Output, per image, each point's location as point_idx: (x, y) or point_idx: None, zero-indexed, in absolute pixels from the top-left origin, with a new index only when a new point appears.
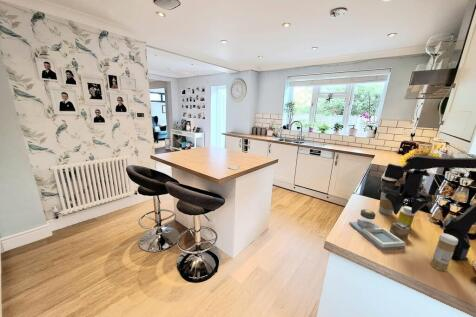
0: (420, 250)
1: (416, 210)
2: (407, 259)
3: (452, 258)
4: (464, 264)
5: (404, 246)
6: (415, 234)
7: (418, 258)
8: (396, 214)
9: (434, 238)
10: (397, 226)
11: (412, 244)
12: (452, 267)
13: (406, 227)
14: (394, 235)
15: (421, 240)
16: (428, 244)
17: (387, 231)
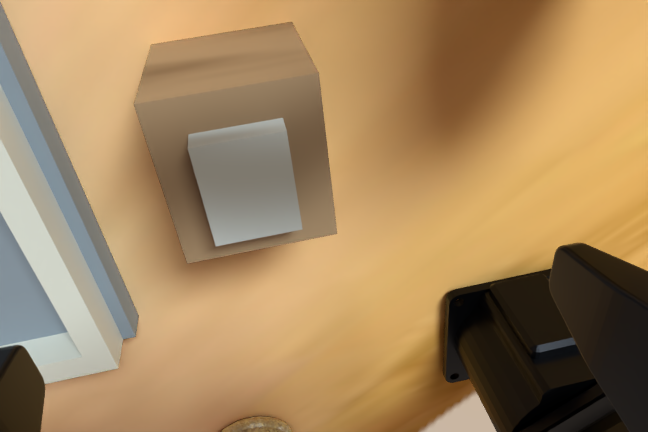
0: (276, 318)
1: (626, 422)
2: (61, 425)
3: (444, 366)
4: (467, 387)
5: (126, 333)
6: (496, 69)
7: (170, 400)
8: (39, 389)
9: (633, 126)
10: (177, 193)
11: (273, 253)
12: (350, 423)
13: (317, 200)
14: (65, 271)
15: (443, 178)
16: (447, 230)
17: (6, 199)
